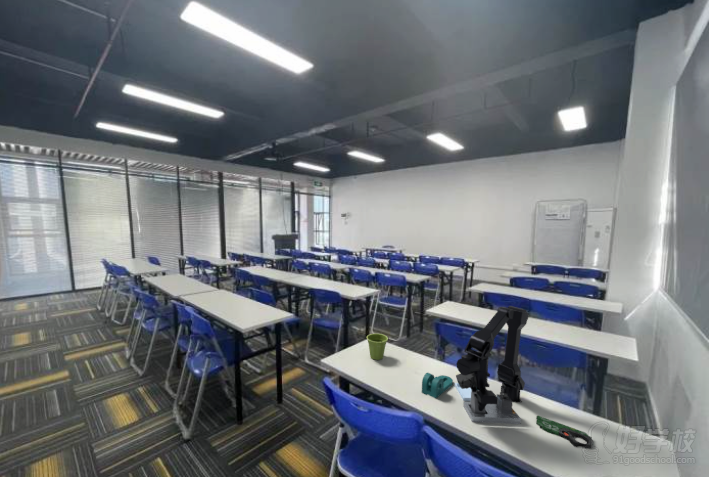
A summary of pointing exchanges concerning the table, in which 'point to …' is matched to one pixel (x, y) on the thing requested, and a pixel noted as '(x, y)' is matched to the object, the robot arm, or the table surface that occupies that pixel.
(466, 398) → the tray
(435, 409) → the table surface
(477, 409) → the plug
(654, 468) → the table surface
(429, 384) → the bracket
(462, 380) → the robot arm
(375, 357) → the plant pot
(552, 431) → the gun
